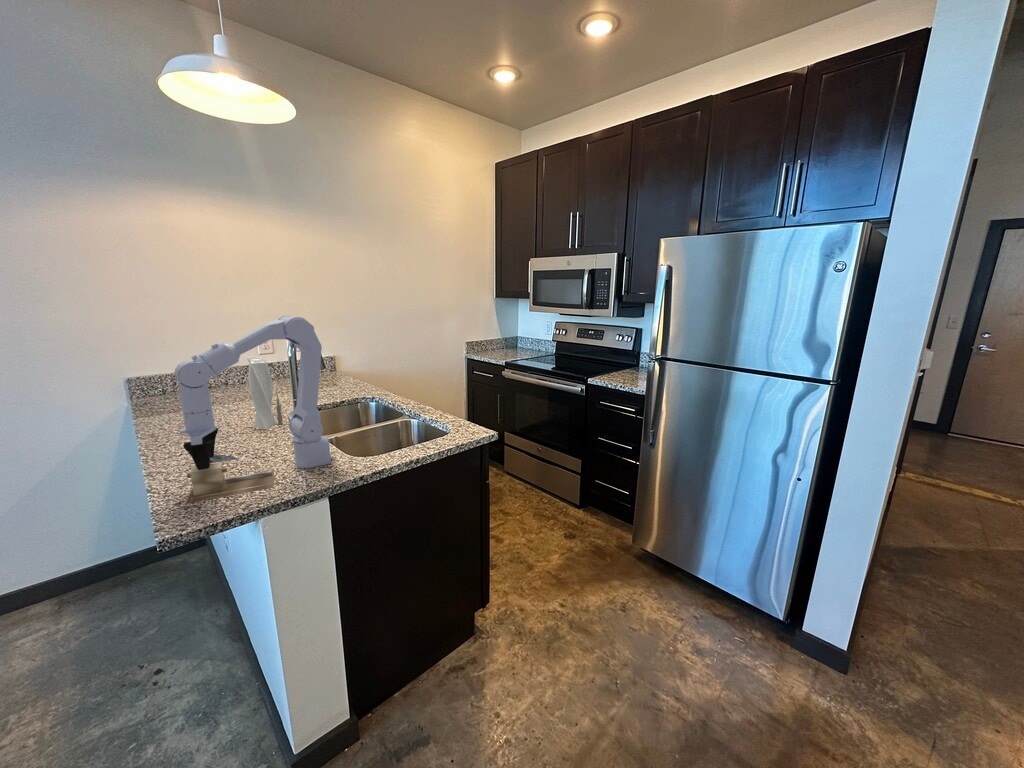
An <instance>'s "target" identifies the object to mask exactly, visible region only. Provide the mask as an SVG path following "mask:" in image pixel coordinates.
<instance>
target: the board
mask: <svg viewBox="0 0 1024 768" xmlns="http://www.w3.org/2000/svg"><path fill="white" fill-rule="evenodd" d="M224 478H225V487H224V490H222V491H217V492H211V493H205V494H200V495H194V493H193V487H192V488H191V491H190V493H189V495H188V497H187V500H186V501H185V504H186V505H187V504H192V503H197V502H203V501H209V500H213V499H220V498H225V497H231V496H235V495H240V494H248V493H253V492H256V491H257V492H258V491H263V490H264V491H265V490H267V489H274V488H275V486H274V485H275V483H274V482H275V470H274V469H273V470H272V469H271V470H267V471H262V472H261V471H260V472H253V473H249V474H243V475H235V476H230V477H224Z"/></svg>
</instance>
